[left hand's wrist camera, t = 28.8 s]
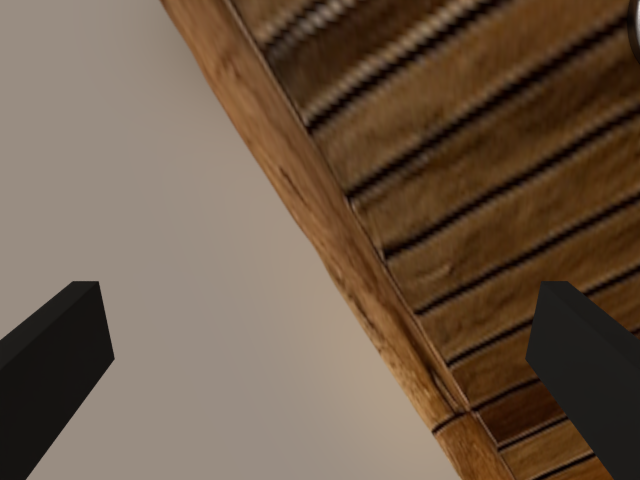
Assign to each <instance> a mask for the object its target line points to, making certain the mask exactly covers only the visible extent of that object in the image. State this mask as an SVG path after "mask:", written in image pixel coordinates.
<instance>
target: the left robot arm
mask: <svg viewBox="0 0 640 480" xmlns="http://www.w3.org/2000/svg"><path fill="white" fill-rule="evenodd" d="M627 27H628V37H629V41H630V45H631V48H632V51H633V53H634V55H635V57H636V59H637V61H638V62H639V64H640V0H630V2H629V8H628V18H627ZM114 359H115V358H114V353H113V349H112V343H111V339H110V334H109V329H108V324H107V319H106V315H105V310H104V305H103V300H102V295H101V290H100V286H99V282H98V281H73V282H71V283H70V284H69V285H68V286H66V287H65V288H64V289H63V290H61V291H60V292H59V293H58V294H57V295H55V296H54V297H53V298H52V299H50V300H49V301H48V302H47V303H46V304H44V305H43V306H42V307H41V308H39V309H38V310H37V311H36V312H34V313H33V314H32V315H31V316H30V317H28V318H27V319H26V320H25V321H23V322H22V323H21V324H20V325H18V326H17V327H16V328H15V329H14V330H12V331H11V332H10V333H9V334H7V335H6V336H5V337H4V338H3V339H1V340H0V480H26V479H27V477H28V476H29V475H30V473H31V472H32V471H33V469H34V468H35V466H36V465H37V464H38V462H39V461H40V460H41V458H42V457H43V456H44V454H45V453H46V452H47V450H48V449H49V447H50V446H51V445H52V443H53V442H54V441H55V439H56V438H57V437H58V435H59V434H60V433H61V431H62V430H63V428H64V427H65V426H66V424H67V423H68V422H69V420H70V419H71V418H72V416H73V415H74V414H75V412H76V411H77V409H78V408H79V407H80V405H81V404H82V403H83V401H84V400H85V399H86V397H87V396H88V394H89V393H90V392H91V390H92V389H93V388H94V386H95V385H96V384H97V382H98V381H99V380H100V378H101V377H102V375H103V374H104V373H105V371H106V370H107V369H108V367H109V366H110V365H111V363H112V362H113V361H114ZM525 359H526V361H527V362H528V363H529V365H530V366H531V367H532V369H533V370H534V371H535V373H536V374H537V375H538V377H539V378H540V380H541V381H542V382H543V384H544V385H545V386H546V388H547V389H548V390H549V392H550V393H551V395H552V396H553V397H554V399H555V400H556V401H557V403H558V404H559V405H560V407H561V408H562V409H563V411H564V412H565V414H566V415H567V416H568V418H569V419H570V420H571V422H572V423H573V424H574V426H575V427H576V428H577V430H578V431H579V433H580V434H581V435H582V437H583V438H584V439H585V441H586V442H587V443H588V445H589V446H590V447H591V449H592V450H593V452H594V453H595V454H596V456H597V457H598V458H599V460H600V461H601V462H602V464H603V465H604V466H605V468H606V469H607V471H608V472H609V473H610V475H611V476H612V477H613V479H614V480H640V340H639V339H638V338H636V337H635V336H634V335H633V334H631V333H630V332H629V331H628V330H626V329H625V328H624V327H623V326H622V325H620V324H619V323H618V322H617V321H615V320H614V319H613V318H612V317H610V316H609V315H608V314H607V313H606V312H604V311H603V310H602V309H601V308H599V307H598V306H597V305H596V304H595V303H593V302H592V301H591V300H590V299H588V298H587V297H586V296H585V295H583V294H582V293H581V292H580V291H579V290H577V289H576V288H575V287H574V286H572V285H571V284H570V283H569V282H567V281H541V286H540V290H539V295H538V300H537V305H536V310H535V314H534V319H533V324H532V329H531V334H530V339H529V343H528V348H527V353H526V358H525Z"/></svg>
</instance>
